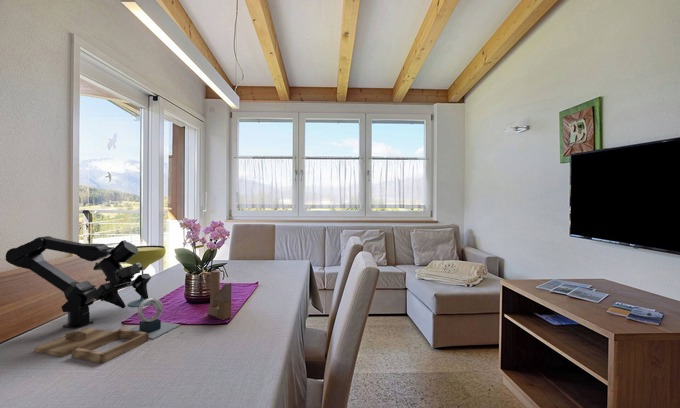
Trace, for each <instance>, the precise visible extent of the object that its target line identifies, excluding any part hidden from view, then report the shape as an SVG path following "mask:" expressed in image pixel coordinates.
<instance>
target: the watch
mask: <svg viewBox="0 0 680 408" xmlns="http://www.w3.org/2000/svg"><path fill="white" fill-rule="evenodd" d="M149 301H151V304H150V305H151V306H152V307H153V308H155V309H156V312H155V314H154V316H151V317H148V318H147V317H146V316H145V314H144V312H143V308H144V307H145V306H144V305H145V304H146V303H147V302H149ZM163 310H164V304H163V303H162V301H161V300H160V299H158V298H156V297H148V299H146V300H144V301H143V302H141V304H140V305H139V307H137V317H138V318H139V319H140V320H139V324H138V326H139V330H141V331H144V332H147V333H150V332H153V331H156V330H158V329H161V322H162V320H161V319H158V318H160V316H161V314H162V312H163Z"/></svg>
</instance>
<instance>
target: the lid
mask: <svg viewBox="0 0 680 408" xmlns="http://www.w3.org/2000/svg"><path fill="white" fill-rule="evenodd" d="M112 332H113V331H109V330H103V329H97V328H90V327H85V328H82V329H80V330H77V331H76V330H71V331H68V332H66V333H65V335H63V336H61V337H58V338H56V339H53V340H51V341H47V342H45V343H42V344H39V345H37V346H35V347H33V348H34V352H37V353H41V354H47V355H53V356H56V357H62V358H63V357H66V356H68V355H70V354H72V349H73V348H76V347H78V346H80V345H83V344H85V343H88V342H90V341H92V340H95V339H97V338H100V337H102V336H104V335H107V334H109V333H112Z"/></svg>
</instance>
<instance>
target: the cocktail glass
mask: <svg viewBox="0 0 680 408" xmlns="http://www.w3.org/2000/svg"><path fill="white" fill-rule="evenodd" d="M135 246H136V245H135ZM136 247H137V249H138V252H137V253H136V254H135V255H134V256H133V257H131V258H130V259H129V260H128V261H127V262H125V263H126V264H128V265H131V266H132V265H133V264H135V263H140V264H141V265H142V267H143V269H142V270H141V271H140V272H141V275H142V274H144V271H145V270H146V269H147V268H148V267H149V266H151V264H153V263H156V262H157V261H159V260H161V259H162V258H164V257H165V255H166V252H167V251H166V247H165V246H163V245H138V246H136ZM144 300H145V299H144V298H142V297H141V296H140V298H138V299H135V300H132V301H130V302H128V303H127V305H128V306H129V307H133V308H134V307H135V308H138V307H139V305H140V304H141V302H143V301H144ZM149 305H152V304H151V301H149V302H147V303H146V304H145V305H144V306H143V307H145V306H149Z"/></svg>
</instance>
